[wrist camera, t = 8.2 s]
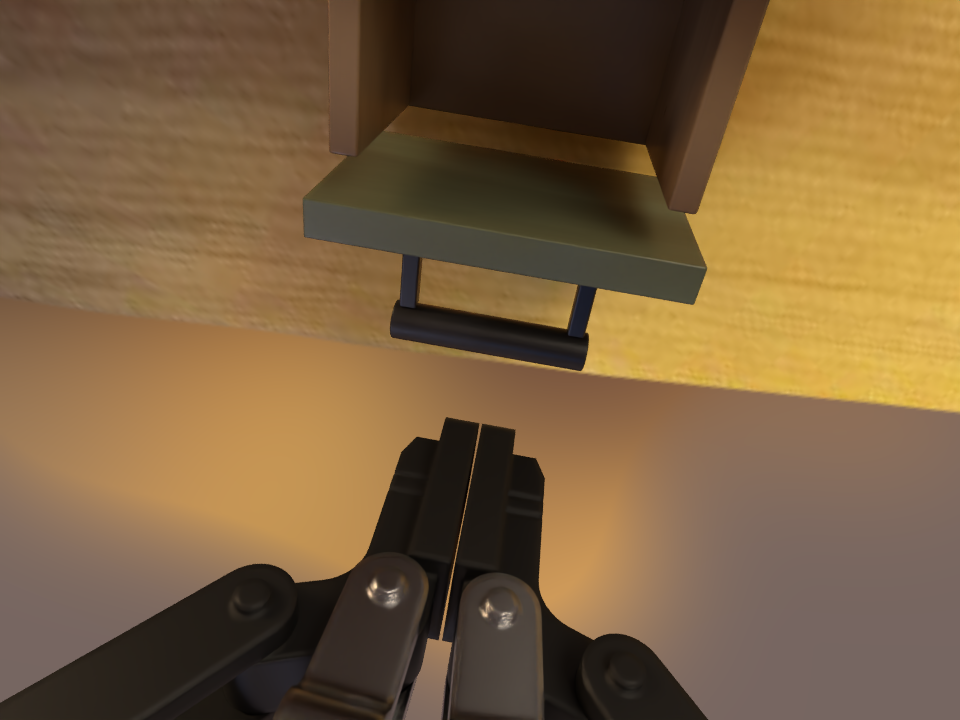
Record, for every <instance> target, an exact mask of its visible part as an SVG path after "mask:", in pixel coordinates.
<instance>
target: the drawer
mask: <svg viewBox="0 0 960 720" xmlns="http://www.w3.org/2000/svg"><path fill="white" fill-rule="evenodd" d="M769 1H770V0H328V25H329V150H330V152H331V153H335V154H341V155H346V156H347V157H346V158H345V159H344V160H343V161H342V162H341V163H340V164H339V165H338V166H336V167H335V168H334V169H333V170H332V171H331V172H330V173H329V174H328V175H327V176H326V177H325V178H324V179H323V180H322V181H321V182H320V183H319V184H318V185H316V186H315V187H314V188H313V189H312V190H311V191H310V192H309V193H308V194H307V195H306V196H305V197H304V198H303V221H304V237H307V238H313V239H318V240H324V241H330V242H336V243H341V244H347V245H353V246H359V247H364V248H370V249H376V250H382V251H387V252H393V253H399V254H403V259H402V274H401V290H400V300H397V301H396V303H395V305H394V308H393V312H392V316H391V323H390V335H391V337H392V338H398V339H403V340H409V341H415V342H420V343H426V344H431V345H437V346H443V347H448V348H454V349H459V350H465V351H471V352H476V353H482V354H487V355H493V356H499V357H504V358H510V359H516V360H521V361H527V362H532V363H538V364H544V365H549V366H555V367H560V368H566V369H572V370H577V371H582V369H583V367H584V364H585V361H586V356H587V351H588V345H589V334H588V333H586V328H587V324H588V321H589V317H590V313H591V309H592V305H593V302H594V298H595V294H596V290H597V288H600V289H605V290H611V291H617V292H623V293H628V294H634V295H640V296H646V297H651V298H657V299H663V300H668V301H674V302H680V303H686V304H691V305H693V304H694V303H695V301H696V298H697V295H698V292H699V290H700V287H701V284H702V282H703V279H704V276H705V274H706V271H707V266H706V264H705V261H704V259H703V256H702V254H701V251H700V249H699V247H698V244H697V242H696V239H695V237H694V234H693V232H692V229H691V227H690V225H689V222H688V220H687V217H686V215H685V213H689V214H696V213H697V212H698V209H699V206H700V203H701V200H702V197H703V194H704V191H705V188H706V186H707V183H708V180H709V177H710V174H711V171H712V168H713V165H714V162H715V159H716V156H717V153H718V150H719V148H720V145H721V142H722V139H723V136H724V133H725V130H726V127H727V124H728V121H729V118H730V115H731V112H732V109H733V107H734V104H735V101H736V98H737V95H738V92H739V89H740V86H741V83H742V80H743V77H744V74H745V71H746V69H747V66H748V63H749V60H750V57H751V54H752V51H753V48H754V45H755V42H756V39H757V36H758V33H759V30H760V28H761V25H762V22H763V19H764V16H765V13H766V10H767V7H768V4H769ZM408 106H415V107H421V108H427V109H433V110H439V111H445V112H451V113H457V114H463V115H469V116H475V117H481V118H487V119H493V120H499V121H504V122H510V123H516V124H522V125H528V126H534V127H540V128H546V129H552V130H558V131H564V132H570V133H576V134H582V135H588V136H594V137H600V138H606V139H612V140H618V141H624V142H630V143H636V144H642V145H646V148H647V150H648V153H649V156H650V159H651V162H652V165H653V167H654V170H655V173H656V176H657V177H655V176H649V175H643V174H637V173H631V172H625V171H619V170H613V169H607V168H601V167H595V166H589V165H583V164H578V163H572V162H566V161H560V160H554V159H548V158H542V157H536V156H530V155H524V154H518V153H512V152H506V151H500V150H494V149H488V148H483V147H477V146H471V145H465V144H459V143H453V142H447V141H441V140H435V139H429V138H423V137H417V136H411V135H405V134H399V133H394V132H388V131H384V130H385V129H386V128H387V127H388V126H389V125H390V124H391V123H392V122H393V121H394V120H395V119H396V118H397V117H398V116H399V115H400V114H401V113H402V112H403V111H404V110H405V109H406V108H407V107H408ZM422 258H427V259H433V260H439V261H445V262H450V263H456V264H462V265H468V266H473V267H479V268H485V269H491V270H496V271H502V272H508V273H514V274H519V275H525V276H531V277H537V278H542V279H548V280H554V281H559V282H565V283H571V284H577V285H578V286H577V290H576V294H575V298H574V302H573V306H572V310H571V315H570V319H569V323H568V327H567V329H563V328H557V327H552V326H546V325H540V324H535V323H529V322H523V321H518V320H512V319H506V318H501V317H495V316H489V315H484V314H478V313H472V312H467V311H461V310H455V309H450V308H444V307H438V306H433V305H427V304H421V303H418V301H419V293H420V281H421V269H422Z"/></svg>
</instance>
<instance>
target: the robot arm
mask: <svg viewBox="0 0 960 720" xmlns="http://www.w3.org/2000/svg"><path fill="white" fill-rule="evenodd" d="M478 428H479V423H475V422H469V421H464V420H458V419H453V418H448V417H446V419H445V422H444V426H443V429H442V433H441V437H440V440H439V441H437V440H432V439H427V438H421V437H416V438H415V439H414V440H413V441H412V442H411V443H410V444H409V445H408V446H407V447H406V448H405V449H404V450H403V451H402V452H401V455H400V458H399V461H398V464H397V467H396V470H395V474H394V476H393V479H392V482H391V484H390V488H389V491H388V493H387V496H386V499H385V502H384V505H383V508H382V511H381V514H380V517H379V520H378V523H377V526H376V529H375V532H374V535H373V538H372V541H371V543H370V546H369V549H368V551H367V554H366V555H365V556H364V558H363V559H362V560H361V561H360V562H359V563H358V564H357V565H356V566H355V567H354V568H353V569H351V570H350V571H348V572H347V573H345V574H342V575H340V576H338V577H335V578H331V579H326V580H319V581H309V582H300V583H295V582H294V581H293V579H292V577H291V576H290V575H289V574H288V573H287V572H286V571H284V570H282V569H281V568H279V567H276V566H273V565H269V564H252V565H247V566H244V567H241V568H238V569H236V570H234V571H232V572H230V573H228V574H227V575H225V576H223V577H221V578H220V579H218V580H216V581H214V582H213V583H211V584H209V585H207V586H206V587H204V588H202V589H200V590H198V591H197V592H195V593H193V594H191V595H190V596H188V597H186V598H184V599H183V600H181V601H179V602H177V603H176V604H174V605H172V606H170V607H168V608H167V609H165V610H163V611H162V612H160V613H158V614H156V615H154V616H153V617H151V618H149V619H147V620H146V621H144V622H142V623H140V624H139V625H137V626H135V627H133V628H132V629H130V630H128V631H126V632H124V633H123V634H121V635H119V636H117V637H116V638H114V639H112V640H110V641H109V642H107V643H105V644H103V645H101V646H100V647H98V648H96V649H95V650H93V651H91V652H89V653H87V654H86V655H84V656H82V657H80V658H79V659H77V660H75V661H73V662H72V663H70V664H68V665H66V666H64V667H63V668H61V669H59V670H57V671H56V672H54V673H52V674H50V675H49V676H47V677H45V678H43V679H42V680H40V681H38V682H36V683H34V684H33V685H31V686H29V687H27V688H26V689H24V690H22V691H20V692H19V693H17V694H15V695H13V696H11V697H10V698H8V699H6V700H4V701H3V702H1V703H0V720H405V717H406V713H407V710H408V707H409V703H410V700H411V696H412V693H413V690H414V686H415V683H416V679H417V676H418V674H419V672H420V669H421V666H422V662H423V658H424V653H425V648H426V644H427V639H428V638H430V639H435V640H439V635H440V630H441V625H442V620H443V615H444V610H445V605H446V600H447V595H448V590H449V585H450V579H451V574H452V569H453V564H454V559H455V554H456V549H457V544H458V539H459V534H460V528H461V524H462V519H463V513H464V508H465V503H466V498H467V493H468V487H469V482H470V476H471V470H472V464H473V458H474V452H475V446H476V440H477V435H478ZM514 438H515V430H514V429H508V428H503V427H497V426H492V425H487V424H482V428H481V433H480V438H479V443H478V448H477V453H476V458H475V463H474V469H473V474H472V479H471V484H470V489H469V495H468V499H467V505H466V510H465V515H464V521H463V525H462V530H461V536H460V541H459V546H458V551H457V556H456V562H455V567H454V573H453V579H452V585H451V591H450V597H449V603H448V610H447V615H446V621H445V627H444V633H443V639H442V640H443V641H447V642H452V647H451V653H450V658H449V664H448V670H447V676H446V681H445V687H444V696H443V706H442V716H441V720H708V719H707V718H706V716H705V715H704V714H703V713H702V711H701V710H700V709H699V708H698V706H697V705H696V704H695V703H694V701H693V700H692V699H691V698H690V697H689V695H688V694H687V693H686V692H685V690H684V689H683V688H682V687H681V686H680V684H679V683H678V682H677V681H676V679H675V678H674V677H673V676H672V674H671V673H670V672H669V671H668V669H667V668H666V667H665V665H664V664H663V663H662V662H661V660H660V659H659V658H658V657H657V656H656V654H655V653H654V652H653V651H652V650H651V649H650V648H649V647H647V646H646V645H645V644H643V643H642V642H640V641H639V640H637V639H635V638H633V637H630V636H627V635H623V634H607V635H603V636H600V637H598V638H596V639H595V640H592V639H591V638H589V637H586V636H585V635H583V634H581V633H579V632H577V631H575V630H574V629H572V628H570V627H568V626H567V625H565V624H563V623H562V622H561V621H559V620H558V619H557V618H556V617H555V616H554V615H553V614H552V613H551V612H550V610H549V609H548V608H547V607H546V605H545V603H544V601H543V599H542V597H541V594H540V590H539V565H540V547H541V532H542V515H543V497H544V482H545V478H544V476H543V473H542V472H541V469H540V467H539V464H538V462H537V460H536V459H535V458H530V457H525V456H519V455H514V454H513V447H514Z"/></svg>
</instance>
